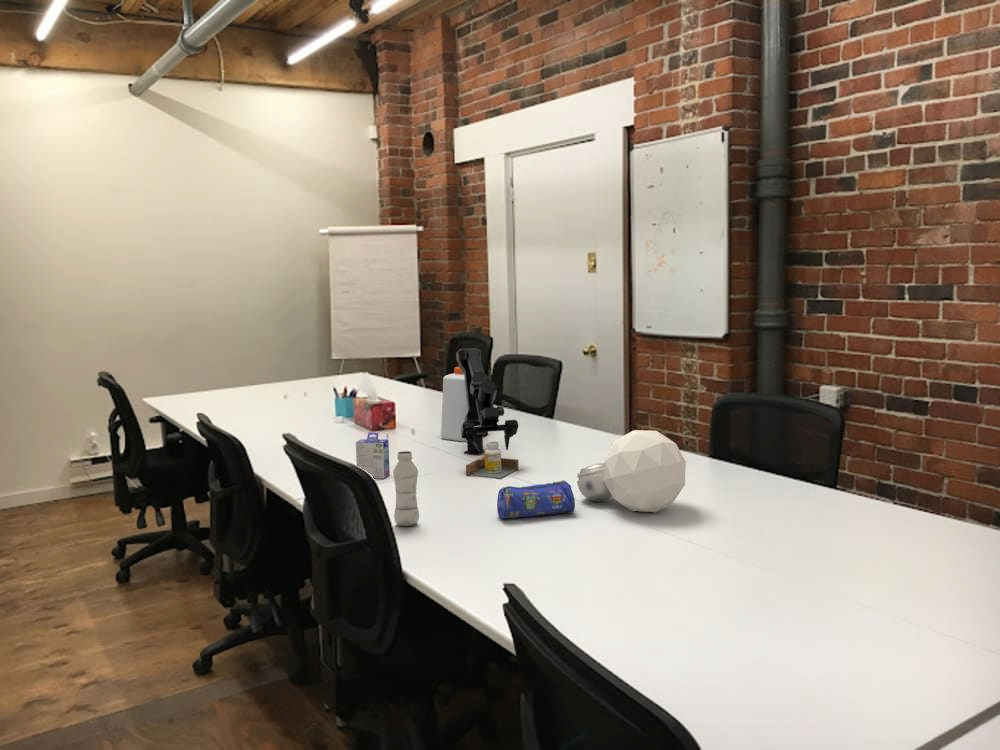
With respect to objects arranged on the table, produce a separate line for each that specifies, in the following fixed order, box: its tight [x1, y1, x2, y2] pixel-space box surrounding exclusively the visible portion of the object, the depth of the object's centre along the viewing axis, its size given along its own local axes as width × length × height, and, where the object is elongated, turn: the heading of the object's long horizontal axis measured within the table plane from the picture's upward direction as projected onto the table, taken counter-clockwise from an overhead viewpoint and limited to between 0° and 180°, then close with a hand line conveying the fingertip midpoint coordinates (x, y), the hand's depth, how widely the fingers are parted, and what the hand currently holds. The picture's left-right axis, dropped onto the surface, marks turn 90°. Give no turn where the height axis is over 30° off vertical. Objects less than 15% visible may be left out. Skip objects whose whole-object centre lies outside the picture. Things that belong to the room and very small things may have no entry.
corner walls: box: [465, 455, 520, 477], centre depth 281 cm, size 13×13×4 cm
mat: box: [470, 467, 516, 480], centre depth 281 cm, size 11×11×1 cm
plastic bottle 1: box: [392, 450, 420, 527], centre depth 228 cm, size 6×7×20 cm
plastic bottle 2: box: [440, 366, 485, 443], centre depth 334 cm, size 15×15×28 cm
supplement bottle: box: [484, 441, 502, 473], centre depth 280 cm, size 5×5×10 cm
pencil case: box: [496, 479, 576, 520], centre depth 235 cm, size 22×9×10 cm, turn 105°
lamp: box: [576, 429, 687, 513], centre depth 240 cm, size 22×34×24 cm, turn 49°
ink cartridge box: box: [355, 432, 391, 480], centre depth 279 cm, size 10×6×14 cm, turn 78°
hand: (493, 450), depth 278 cm, fingers open, 9 cm apart
